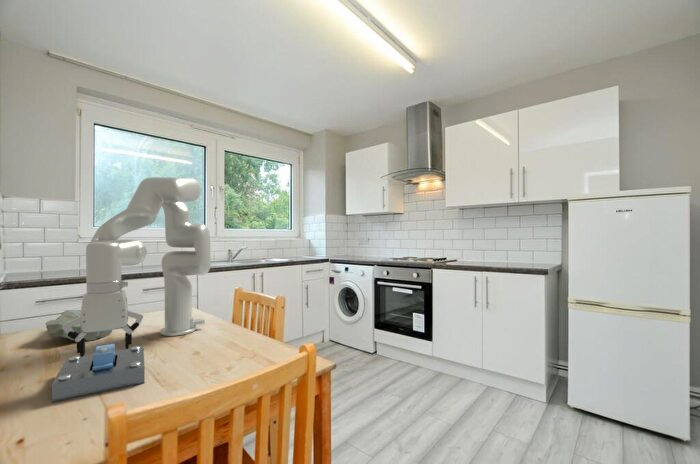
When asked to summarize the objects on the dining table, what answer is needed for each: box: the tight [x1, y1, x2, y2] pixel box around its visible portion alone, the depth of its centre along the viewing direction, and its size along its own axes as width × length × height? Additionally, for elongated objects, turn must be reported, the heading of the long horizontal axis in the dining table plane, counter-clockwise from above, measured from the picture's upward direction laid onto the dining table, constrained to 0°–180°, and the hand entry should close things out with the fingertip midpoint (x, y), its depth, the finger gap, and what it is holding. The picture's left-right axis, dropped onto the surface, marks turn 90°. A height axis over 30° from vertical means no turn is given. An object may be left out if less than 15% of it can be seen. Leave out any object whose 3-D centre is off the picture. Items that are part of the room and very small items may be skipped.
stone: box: [45, 309, 113, 342], centre depth 126 cm, size 28×8×20 cm
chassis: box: [51, 345, 146, 403], centre depth 88 cm, size 18×18×5 cm
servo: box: [93, 343, 116, 373], centre depth 88 cm, size 4×11×8 cm, turn 32°
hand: (105, 351), depth 88 cm, fingers open, 9 cm apart
